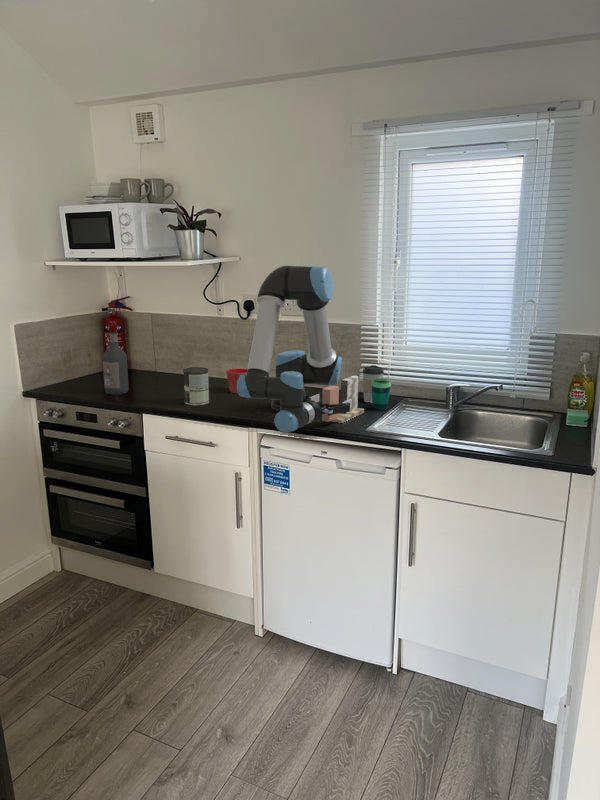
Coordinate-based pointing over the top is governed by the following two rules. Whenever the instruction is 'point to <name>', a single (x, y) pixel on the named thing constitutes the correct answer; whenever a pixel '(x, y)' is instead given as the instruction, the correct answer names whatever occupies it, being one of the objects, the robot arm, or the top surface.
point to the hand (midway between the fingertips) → (334, 400)
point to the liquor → (115, 366)
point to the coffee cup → (370, 380)
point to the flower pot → (234, 378)
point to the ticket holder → (349, 392)
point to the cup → (380, 393)
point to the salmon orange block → (330, 400)
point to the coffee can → (196, 386)
